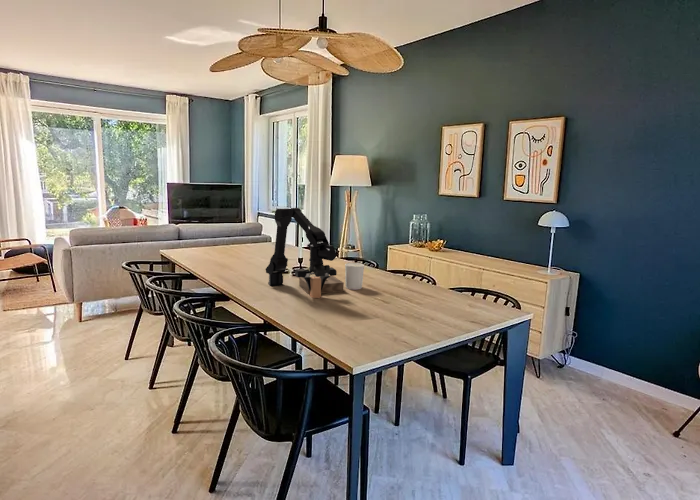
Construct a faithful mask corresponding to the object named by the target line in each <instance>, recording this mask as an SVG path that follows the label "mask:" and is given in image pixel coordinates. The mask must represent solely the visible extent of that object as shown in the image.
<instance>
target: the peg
mask: <svg viewBox="0 0 700 500" xmlns="http://www.w3.org/2000/svg"><path fill="white" fill-rule="evenodd" d="M310 277H311V280H310V283H311V291H310V294H309V296H310V297H311V298H312V299H319V298H321V297H322V293H321V278H320V277H315V276H310Z"/></svg>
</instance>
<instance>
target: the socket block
mask: <svg viewBox="0 0 700 500" xmlns="http://www.w3.org/2000/svg"><path fill="white" fill-rule="evenodd" d="M329 276H330V275H329ZM314 277H316V276H315V275H314ZM319 277H320V276H319ZM298 278H299V279H298V280H299V285H298V287H300V288H301V289H302V290H303V291H304V292H306V294H307V295H310V291H309V288H308V286H307V283H306V280H305V279H304V278H303V277H298ZM344 284H345V283H344V282H343V281H342V280H341V279H339V278H338V277H336V276H330V277H329V278H327V279H326V281H325V283H324V285H323V288H322V290H321V294H328V293H341V292H344V289H345V287H344Z"/></svg>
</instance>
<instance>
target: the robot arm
mask: <svg viewBox="0 0 700 500" xmlns="http://www.w3.org/2000/svg"><path fill="white" fill-rule="evenodd" d="M292 219H293V220H294V221H295V222H296V224H297V225H299V227H300V228H301V229H302V230H303V231H304V233H305V237H306V239H307V240H308V244H306V247H307V248H309V259H308V261H309V268H308V270H305V269H304V268H295V270H294V275H295V276H296V277H297V278H299V277H303V278H304V279H305V280H306V283H307V286H308V288H309V291H311V283H310V280H311V277H312V276H310V275H314V277H315V276H316V277H319V276H320V278H321V290H322V288H323V285H324V283H325V281H326V279H327V278H329V277H330V276H334V277H336V276H337V275H338V274H337V273H338V272H337V269H336V268H334V267H331V266H330V265H329V264H324V261H332V262H333V261H335V260H336V258H337V251H336V249H335V248H334V245H331V244H330V243H329V241H328V238H327V237H326V233H325V232H324V231H323V230H322V228H320V227H318V226H315V225H314V224H313V223H312V222H311V221H310V220H309V219H308V217H307V216H306V215H305V214H304V213H303V211H302V210H301V209H300V208H299V207H290V208H289V207H288V208H285V207H284V208H277V209H275V212H274V222H275V223H276V226H277V227H276V235H275V245H274V252H273V255H272V256H271V257H270V260H269V263H268V265H267V267H266V268H265V273H266V274H268V282H267V284H268V285H269V287H274V286H276V287H279V286H284V274H283V273H285V272H286V268H287V267H288V262H289V259H288V257H286V255H285V251H286V243H287V233H288V227H289V225H290V224H291V223H292Z"/></svg>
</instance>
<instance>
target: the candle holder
mask: <svg viewBox="0 0 700 500" xmlns="http://www.w3.org/2000/svg"><path fill="white" fill-rule="evenodd" d="M344 267H345V268H344V270H345V271H344V272H345V276H344V277H345V278H344V279H345V288H346V289H347V290H355V291H356V290H357V291H358V290H361V289H362V288H363V279H364V270H365V264H364V263H360V262H347V263H345V264H344Z"/></svg>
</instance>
